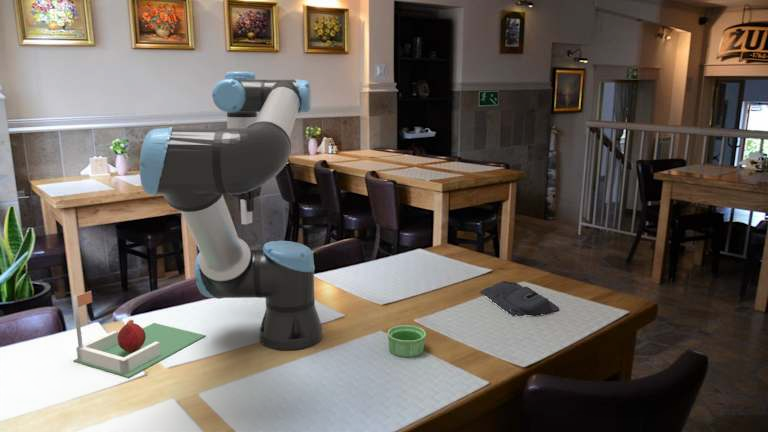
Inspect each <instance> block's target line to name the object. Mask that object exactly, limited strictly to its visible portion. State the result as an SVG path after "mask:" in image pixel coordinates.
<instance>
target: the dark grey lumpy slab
mask: <svg viewBox="0 0 768 432" xmlns="http://www.w3.org/2000/svg"><path fill="white" fill-rule="evenodd" d="M480 293H481V294H480ZM479 294H480V295H482V294H483V295H485V296H487V297H488V298H489V299H491V300H492V302H494V303H496V304H497V305H498V306H500V307H501V308H502V309H504V310H505V311H507V312H508V313H509V314H511V315H517V316H524V315H535V316H534V317H537V316H536V315H539V316H542V315H541V314H545V315H549V314H552V313H555V312H557V311H558V312H559V311H560V307H559V306H558V305H556V304H555V303H553V302H552V301H550V300H549V298H547V297H545V296H543V295H541V294H539V293H538V292H536V291H535V290H533V289H531V288H530V287H528V286H522V285H521V284H519V283H517V282H514V281H508V280H503V281H500V282H497V283H495V284H493V285H492V286H488V287H485V288H483V289H481V290H480V291H479ZM483 295H482V296H483ZM492 302H491V303H492ZM498 306H497V307H498ZM501 308H500V309H501ZM502 309H501V310H502ZM505 311H504V312H505ZM548 313H549V314H548ZM509 314H508V315H509ZM517 316H516V317H517Z"/></svg>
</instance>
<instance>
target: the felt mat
mask: <svg viewBox="0 0 768 432" xmlns="http://www.w3.org/2000/svg"><path fill="white" fill-rule="evenodd" d="M141 328H142V329H143V330H144V332H145V335H146V339H145V342H144V344H143V345H142V346H141V347H140V348H139V349H138V350H140V349H142V348H144V347H146V346H148V345H150V344H152V343H154V342H160V351H161V355H159V356H157V357H156V358H154V359H152V360H150V361H148V362H146V363H144V364H142V365H140V366H139V367H137V368H135V369H133V370H131V371H129V372H127V373H125V374H123V373H119V372H116V371H113V370H109V369H106V368H103V367H99V366H96V365H93V364H89V363H86V362H83V361H79V360H78V357H77V358H75V359H73V362H74V363H77V364H80V365H83V366H87V367H90V368H94V369H97V370H100V371H104V372H107V373H111V374H114V375H116V376H120V377H123V378H126V379H130V378H132V377H134V376H135V375H137V374H139V373H141V372H143V371H144V370H145V371H146V370H148V369H149V368H150V367H153V366H154V365H156V364H157V363H159V362H161V361H164V360H165V359H167V358H169V357H171V356H172V355H174V354H176V353H177V352H179V351H181V350H183V349H186V348H187V347H188V346H191V345H193V344H194V343H196V342H198V341H200V340H201V339H203V338H206V334H202V333H197V332H193V331H189V330H186V329H181V328H177V327H173V326H170V325H169V326H168V325H164V324H160V323H156V322H153V323H150V324H149V325H147V326H145V327H141ZM138 350H137V351H138ZM103 352H106V353H110V354H113V355H117V356H120V357H126V356H128V355H130V354H132V353H130V352H127V351H125V350H123V349H122V348H121V347H120V346H119V344H117V345H115V346H113V347H111V348H109V349H107V350H104V351H103Z"/></svg>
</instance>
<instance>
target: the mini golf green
mask: <svg viewBox="0 0 768 432" xmlns="http://www.w3.org/2000/svg"><path fill="white" fill-rule="evenodd" d="M72 301H73V310H74V311H73V312H74V319H75V325H76V326H75V328H76V335H77V336H76V337H77V344H78V346H77V347H76V354H77V355H76V356H77V358H78V360H79V361H83V362H86V363H89V364H93V365H96V366H99V367H103V368H106V369H109V370H113V371H116V372H119V373H123V374H125V373H127V372H129V371H131V370H133V369H135V368H137V367H139V366H140V365H142V364H144V363H146V362H148V361H150V360H152V359H154V358H156V357H157V356H159V355H161V351H160V342H154V343H152V344H150V345H148V346H146V347H144V348H142V349H140V350H138V351H136V352H134V353H132V354H130V355H128V356H126V357H120V356H117V355H113V354H110V353H106V352H103V351H104V350H107V349H109V348H111V347H113V346H115V345H117V344H118V340H117V337H118V333H119V331H117V330H113V331H111V332H108V333H105V334H104V335H101V336H100V337H97V338H95V339H93V340H90V341H88V342H86V343H84V344H83V338H82V331H81V330H82V328H81V322H80V321H81V319H80V312H79V308H80V307H83V306H86V305H88V304H91V303H93V295H92V290H89V291H87V292H83V293H82V294H78V295H76V294H74V295H72Z"/></svg>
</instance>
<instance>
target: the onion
mask: <svg viewBox="0 0 768 432" xmlns="http://www.w3.org/2000/svg"><path fill="white" fill-rule="evenodd" d="M142 328H143V327H142V326H140V325H139V324H137V323H134V320H133V319H128V321H127V322H126V324H125V325H124V326H122V327H121V329H120V330H119V331H118V337H117V340H118V344H119V346H120V347H121V348H122V349H123V350H125V351H127V352H130V353H134V352H136V351H137V350H138V349H139V348H140V347H141V346H142V345H143V344H144V342H145V339H146V335H145V332H144V330H143V329H142Z"/></svg>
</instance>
